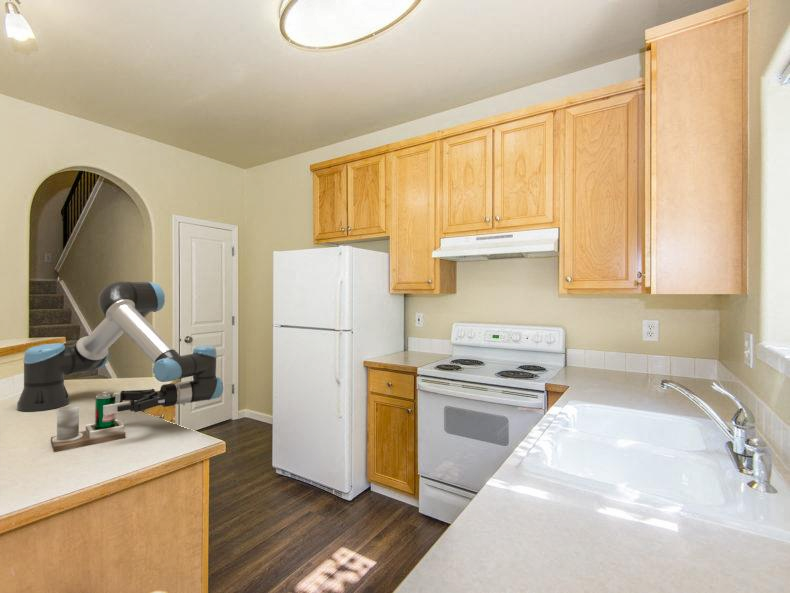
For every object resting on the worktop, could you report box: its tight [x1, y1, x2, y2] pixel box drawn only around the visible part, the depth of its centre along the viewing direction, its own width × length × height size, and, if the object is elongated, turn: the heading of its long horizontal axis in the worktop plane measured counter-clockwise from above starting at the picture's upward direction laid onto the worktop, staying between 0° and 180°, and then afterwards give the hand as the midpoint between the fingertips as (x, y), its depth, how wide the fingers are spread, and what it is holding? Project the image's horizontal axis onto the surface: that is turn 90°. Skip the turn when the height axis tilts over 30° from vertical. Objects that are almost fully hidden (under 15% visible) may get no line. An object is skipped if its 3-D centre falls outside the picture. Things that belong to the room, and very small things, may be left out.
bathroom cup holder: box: [50, 405, 127, 453], centre depth 123 cm, size 17×10×10 cm, turn 135°
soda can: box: [94, 391, 116, 430], centre depth 125 cm, size 5×5×12 cm
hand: (99, 405), depth 124 cm, fingers open, 13 cm apart
